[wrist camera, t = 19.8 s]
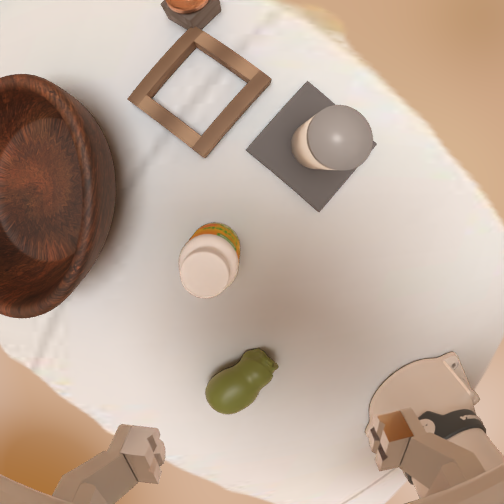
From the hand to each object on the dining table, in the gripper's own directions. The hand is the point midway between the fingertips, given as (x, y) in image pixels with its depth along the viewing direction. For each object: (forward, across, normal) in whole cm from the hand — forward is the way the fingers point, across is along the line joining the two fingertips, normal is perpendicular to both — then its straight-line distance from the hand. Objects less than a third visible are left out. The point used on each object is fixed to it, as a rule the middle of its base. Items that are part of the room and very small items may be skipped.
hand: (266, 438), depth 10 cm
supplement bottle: (+26, +4, -2) cm, 26 cm away
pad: (+26, -7, -12) cm, 29 cm away
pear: (+26, +3, +15) cm, 30 cm away
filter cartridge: (+25, -7, -12) cm, 28 cm away
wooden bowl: (+25, +25, -10) cm, 37 cm away
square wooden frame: (+25, +5, -21) cm, 33 cm away
